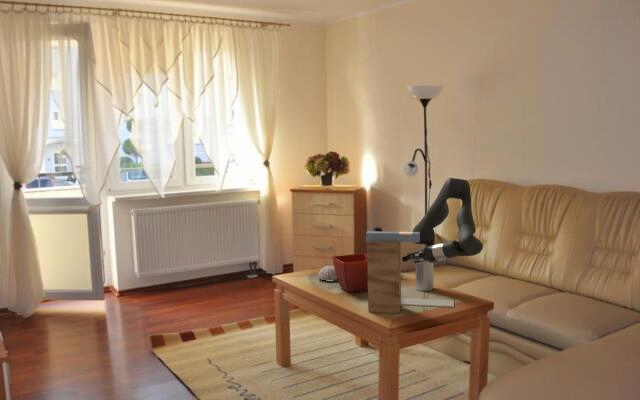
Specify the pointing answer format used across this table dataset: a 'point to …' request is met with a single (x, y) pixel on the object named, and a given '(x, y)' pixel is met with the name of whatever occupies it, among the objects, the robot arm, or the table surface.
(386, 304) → the walnut stand
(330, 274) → the sea urchin shell
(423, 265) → the robot arm
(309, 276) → the table surface
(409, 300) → the felt mat
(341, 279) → the plant pot
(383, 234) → the spaghetti box
